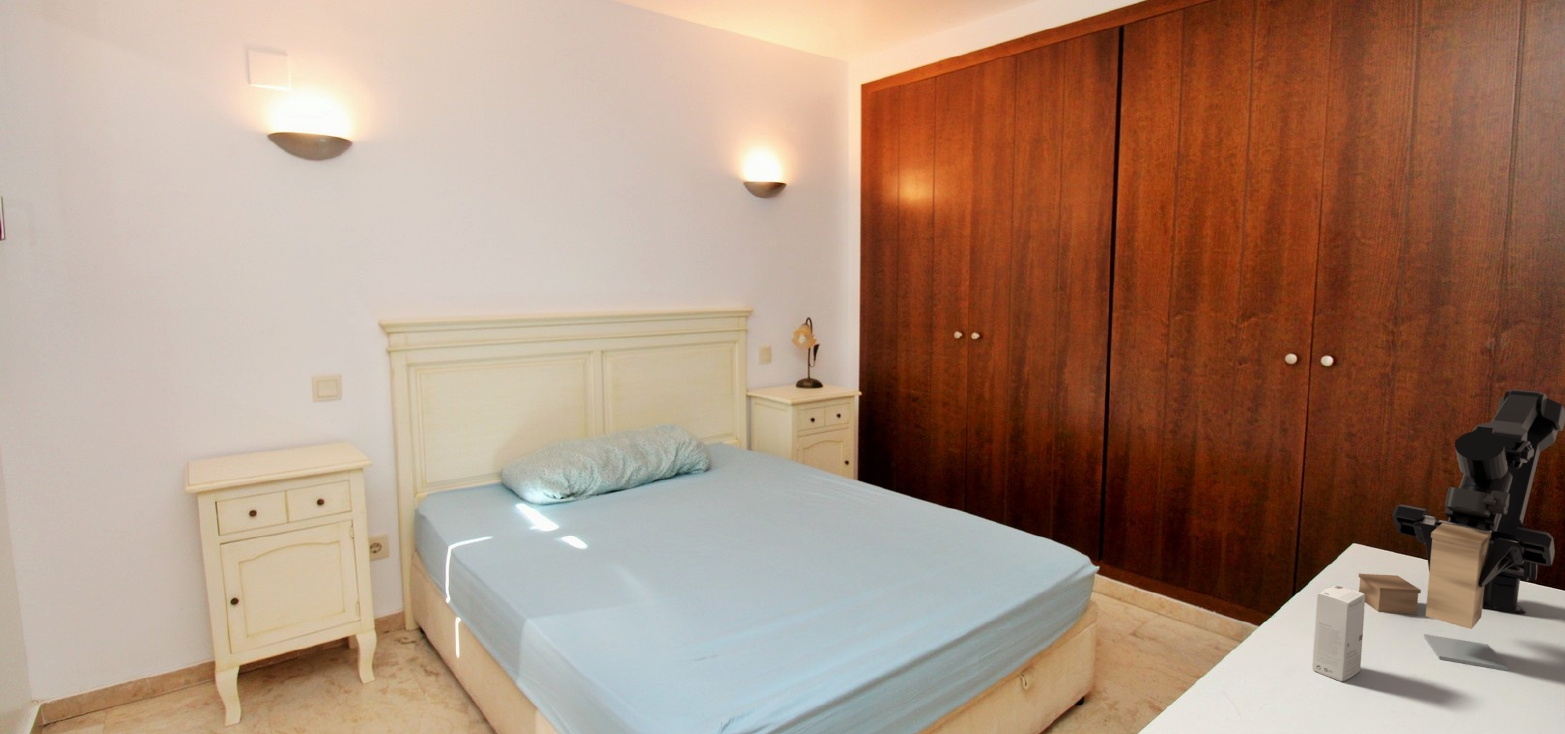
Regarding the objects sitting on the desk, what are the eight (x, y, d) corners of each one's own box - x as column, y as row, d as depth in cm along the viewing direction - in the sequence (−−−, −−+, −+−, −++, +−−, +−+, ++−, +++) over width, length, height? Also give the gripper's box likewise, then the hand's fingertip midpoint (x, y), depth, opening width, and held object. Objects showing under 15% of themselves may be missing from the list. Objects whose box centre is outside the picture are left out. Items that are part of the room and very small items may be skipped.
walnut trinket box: (1356, 597, 141) (1358, 573, 140) (1395, 599, 140) (1397, 575, 139) (1377, 612, 135) (1380, 587, 134) (1418, 615, 134) (1420, 590, 133)
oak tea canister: (1435, 604, 124) (1442, 523, 122) (1482, 617, 119) (1491, 532, 117) (1424, 616, 121) (1431, 532, 118) (1472, 629, 116) (1481, 543, 114)
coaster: (1423, 636, 125) (1424, 634, 125) (1487, 647, 122) (1487, 644, 122) (1439, 659, 118) (1439, 655, 118) (1507, 670, 115) (1507, 667, 115)
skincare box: (1343, 683, 112) (1351, 603, 110) (1309, 670, 115) (1315, 593, 114) (1361, 671, 115) (1369, 593, 113) (1327, 658, 119) (1334, 583, 117)
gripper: (1400, 456, 127) (1372, 535, 122) (1559, 480, 112) (1534, 572, 107) (1411, 493, 132) (1384, 570, 127) (1564, 521, 117) (1540, 610, 112)
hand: (1455, 579), depth 118 cm, fingers closed on oak tea canister, 5 cm apart
